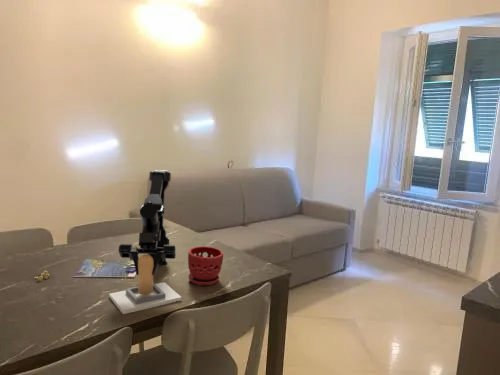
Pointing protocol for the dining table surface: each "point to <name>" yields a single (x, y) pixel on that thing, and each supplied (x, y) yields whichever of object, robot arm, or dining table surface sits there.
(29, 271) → the dining table surface
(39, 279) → the yellow knobbed cluster
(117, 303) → the plate
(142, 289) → the orange domed cylinder
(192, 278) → the plant pot
